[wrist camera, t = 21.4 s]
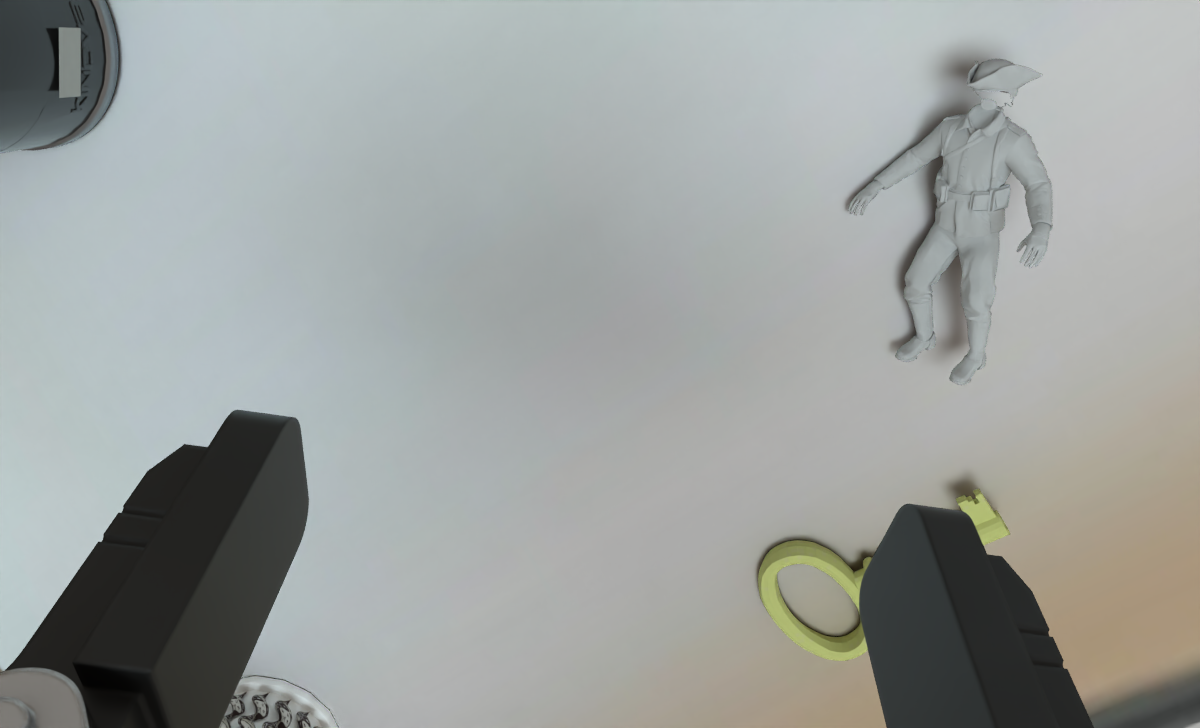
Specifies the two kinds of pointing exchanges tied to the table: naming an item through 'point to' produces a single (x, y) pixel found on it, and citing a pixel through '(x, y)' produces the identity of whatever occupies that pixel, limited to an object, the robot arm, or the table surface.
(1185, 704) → the table surface
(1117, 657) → the table surface
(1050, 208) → the soldier figure
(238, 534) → the robot arm
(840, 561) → the key
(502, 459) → the table surface
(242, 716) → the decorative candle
